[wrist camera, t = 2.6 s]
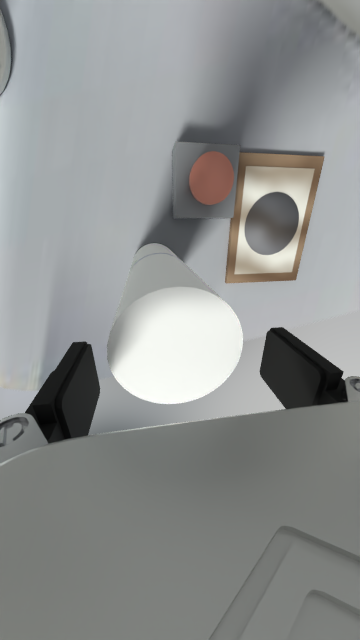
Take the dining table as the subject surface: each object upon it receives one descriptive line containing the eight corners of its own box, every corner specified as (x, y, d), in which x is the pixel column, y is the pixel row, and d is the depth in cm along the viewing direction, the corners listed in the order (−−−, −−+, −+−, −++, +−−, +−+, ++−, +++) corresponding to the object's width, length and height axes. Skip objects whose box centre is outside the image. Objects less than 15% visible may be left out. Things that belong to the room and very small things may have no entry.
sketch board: (236, 154, 29) (239, 151, 28) (320, 158, 31) (325, 156, 30) (225, 282, 36) (227, 283, 35) (292, 279, 38) (296, 280, 37)
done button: (185, 159, 26) (191, 150, 23) (225, 161, 27) (236, 152, 24) (185, 206, 28) (190, 203, 25) (221, 206, 29) (231, 204, 26)
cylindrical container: (185, 272, 34) (262, 361, 12) (150, 296, 35) (161, 422, 13) (160, 233, 31) (202, 254, 9) (122, 260, 32) (74, 343, 10)
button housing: (172, 151, 27) (175, 141, 24) (229, 153, 29) (240, 144, 25) (173, 218, 31) (176, 217, 28) (224, 218, 32) (233, 217, 29)
